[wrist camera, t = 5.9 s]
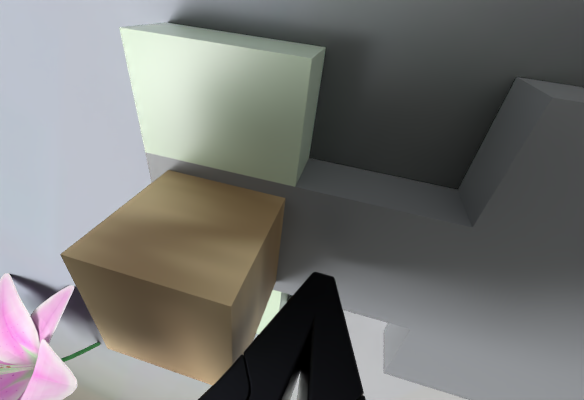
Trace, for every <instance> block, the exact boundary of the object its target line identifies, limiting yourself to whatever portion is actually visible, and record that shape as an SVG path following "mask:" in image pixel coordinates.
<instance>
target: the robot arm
mask: <svg viewBox="0 0 584 400" xmlns="http://www.w3.org/2000/svg"><path fill="white" fill-rule="evenodd" d="M299 374H300V379H299V387H298V395H297V400H366V399H365V396H364V395H363V393H364V392H363V388H362V384H361V380H360V376H359V372H358V368H357V364H356V360H355V356H354V352H353V348H352V344H351V340H350V336H349V332H348V329H347V325H346V321H345V317H344V313H343V309H342V305H341V301H340V297H339V293H338V289H337V285H336V281H335V278H334V277H333V276H330V275H326V274H323V273H319V272H313V273H312V274H311V275H310V276H309V277H308V278H307V280H306V281H305V282H304V283H303V284H302V285H301V286H300V288H299V289H298V290H297V291H296V292H295V293H294V295H293V296H292V297H291V298H290V299H289V300H288V301H287V303H286V304H285V305H284V306H283V307H282V308H281V309H280V311H279V312H278V313H277V314H276V315H275V316H274V318H273V319H272V320H271V321H270V322H269V323H268V324H267V326H266V327H265V328H264V329H263V330H262V331H261V332H260V334H259V335H258V336H257V337H256V338H255V339H254V341H253V342H252V343H251V344H250V345H249V346H248V347H247V349H246V350H245V351H244V352H243V354H241V355H240V356H239V358H238V359H237V360H236V361H235V362H234V363H233V364H232V366H231V367H230V368H229V369H228V370H227V371H226V372H225V373H224V374H223V375H222V376H221V377H220V379H219V380H218V381H217V382H216V383H215V384H214V385H213V386H212V387H211V388H210V389H208V390H207V391H206V392H205V393H204V394H203V395H202V396H201V397H200V398H199V399H198V400H290V398H291V396H292V393H293V390H294V387H295V385H296V382H297V379H298V376H299Z"/></svg>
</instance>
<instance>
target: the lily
mask: <svg viewBox="0 0 584 400" xmlns="http://www.w3.org/2000/svg"><path fill="white" fill-rule="evenodd" d="M73 290H74V286H71V285H70V286H68V287H66V288H64V289H62V290H60V291H59V292H57V293H56V294H54V295H53V296H51V297H50V298H49V299H47V300H46V301H45V302H43V303H42V304H41V305H40V306H39V307H38V308H36V309H35V310H34V311H33V313H32V314H31V316H30V315H29V313H28V311H27V309H26V308H25V306H24V304H23V302H22V301H21V299H20V297H19V295H18V293H17V290H16V288H15V285H14V283H13V280H12V277H11V276H10V274H4V275H3V276H2V277H1V279H0V400H62V399H64V398H65V397H67V396H69V395H70V394H72V393H73V392H74V390H75V389H76V388H77V380H76V378H75V376H74V375H73V373H72V372H71V370H70V369H69V368H68V367H67V366H66V365H65V363H64V362H65V361H67V360H70V359H72V358H74V357H77V356H79V355H81V354H83V353H85V352H87V351H89V350H91V349H93V348H95V347H97V346H99V345H100V343H99V342H97V343H95V344H93V345H91V346H89V347H87V348H85V349H83V350H81V351H78V352H76V353H74V354H72V355H70V356H67V357H64V358H62V359H60V358H59V357H58V356H57V354H56V353H55V352H54V351H53V350H52V348H51V347H50V346H49V343H50V340H51V338H52V336H53V333H54V331H55V329H56V327H57V325H58V323H59V320H60V318H61V316H62V314H63V312H64V310H65V308H66V305H67V303H68V301H69V299H70V297H71V295H72V292H73Z"/></svg>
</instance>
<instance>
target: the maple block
mask: <svg viewBox="0 0 584 400" xmlns="http://www.w3.org/2000/svg"><path fill="white" fill-rule="evenodd" d="M284 207H285V198H283V197H279V196H275V195H270V194H266V193H262V192H258V191H254V190H250V189H246V188H241V187H237V186H233V185H229V184H225V183H221V182H216V181H212V180H208V179H204V178H200V177H196V176H191V175H187V174H183V173H179V172H175V171H171V170H168V171H166V172H165V173H164V174H162V175H161V176H160V177H159V178H157V179H156V180H155V181H154V182H152V183H151V184H150V185H148V186H147V187H146V188H145V189H143V190H142V191H141V192H139V193H138V194H137V195H136V196H134V197H133V198H132V199H131V200H129V201H128V202H127V203H125V204H124V205H123V206H122V207H120V208H119V209H118V210H116V211H115V212H114V213H113V214H111V215H110V216H109V217H108V218H106V219H105V220H104V221H102V222H101V223H100V224H99V225H97V226H96V227H95V228H93V229H92V230H91V231H90V232H88V233H87V234H86V235H84V236H83V237H82V238H81V239H79V240H78V241H77V242H76V243H74V244H73V245H72V246H70V247H69V248H68V249H67V250H65V251H64V252H63V253H61V254H60V255H61V257H62V259H63V261H64V263H65V265H66V267H67V269H68V271H69V273H70V275H71V277H72V279H73V281H74V283H75V285H76V287H77V288H78V290H79V292H80V294H81V296H82V298H83V300H84V302H85V304H86V306H87V308H88V310H89V312H90V314H91V316H92V318H93V320H94V322H95V324H96V326H97V328H98V330H99V332H100V334H101V336H102V338H103V340H104V342H105V344H106V346H107V348H108V349H111V350H114V351H116V352H119V353H122V354H125V355H128V356H131V357H134V358H136V359H139V360H142V361H145V362H148V363H151V364H154V365H156V366H159V367H162V368H165V369H168V370H171V371H173V372H176V373H179V374H182V375H185V376H188V377H191V378H193V379H196V380H199V381H202V382H205V383H208V384H210V385H214V384H215V383H216V382H217V381H218V380H219V379H220V377H221V376H222V375H223V374H224V373H225V372H226V371H227V370H228V369H229V368H230V367H231V366H232V364H233V363H234V362H235V361H236V360H237V359H238V358H239V356H240V355H241V354H243V352H244V351H245V350H246V349H247V347H248V346H249V345H250V344H251V343H252V342H253V340H254V337H255V334H256V332H257V329H258V327H259V324H260V322H261V319H262V316H263V314H264V311H265V309H266V306H267V303H268V301H269V298H270V296H271V293H272V290H273V288H274V285H275V283H276V276H277V267H278V259H279V250H280V241H281V233H282V224H283V216H284Z"/></svg>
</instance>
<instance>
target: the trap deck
mask: <svg viewBox="0 0 584 400" xmlns="http://www.w3.org/2000/svg"><path fill="white" fill-rule="evenodd" d="M119 28H120V33H121V37H122V42H123V47H124V52H125V57H126V61H127V66H128V71H129V76H130V81H131V85H132V90H133V95H134V100H135V105H136V110H137V114H138V119H139V124H140V129H141V134H142V138H143V143H144V148H145V153H146V158H147V163H148V167H149V172H150V177H151V182H154V181H155V180H156V179H157V178H159V177H160V176H161V175H162V174H164V173H165V172H166V171H168V170H171V171H175V172H179V173H183V174H187V175H191V176H196V177H200V178H204V179H208V180H212V181H216V182H221V183H225V184H229V185H233V186H237V187H241V188H246V189H250V190H254V191H258V192H262V193H266V194H270V195H275V196H279V197H283V198H285V207H284V216H283V224H282V233H281V241H280V250H279V259H278V267H277V276H276V283H275V285H274V288H273V290H272V293H271V296H270V298H269V301H268V303H267V306H266V309H265V311H264V314H263V316H262V319H261V322H260V324H259V327H258V329H257V332H256V333H257V334H260V332H261V331H262V330H263V329H264V328H265V327H266V326H267V324H268V323H269V322H270V321H271V320H272V319H273V318H274V316H275V315H276V314H277V313H278V312H279V311H280V309H281V308H282V307H283V306H284V305H285V304H286V303H287V298H288V294H290V295H294V293H295V292H296V291H297V290H298V289H299V288H300V286H301V285H302V284H303V283H304V282H305V281H306V280H307V278H308V277H309V276H310V275H311V274H312V273H313V272H319V273H323V274H326V275H330V276H333V277H334V278H335V281H336V285H337V289H338V293H339V297H340V301H341V305H342V309H343V310H345V311H349V312H352V313H356V314H359V315H363V316H366V317H370V318H373V319H377V320H380V321H384V322H387V323H388V325H387V327H386V328H385V330H384V373H385V374H388V375H391V376H395V377H398V378H401V379H404V380H407V381H411V382H414V383H417V384H420V385H423V386H427V387H430V388H433V389H436V390H439V391H443V392H446V393H449V394H452V395H455V396H459V397H462V398H465V399H468V400H584V87H578V86H572V85H566V84H559V83H553V82H546V81H540V80H533V79H527V78H520V77H516V79H515V81H514V83H513V85H512V87H511V89H510V91H509V92H508V94H507V96H506V98H505V100H504V102H503V104H502V106H501V108H500V110H499V112H498V114H497V115H496V117H495V119H494V121H493V123H492V125H491V127H490V129H489V131H488V133H487V135H486V137H485V138H484V140H483V142H482V144H481V146H480V148H479V150H478V152H477V154H476V156H475V158H474V160H473V162H472V163H471V165H470V167H469V169H468V171H467V173H466V175H465V177H464V179H463V181H462V183H461V185H460V186H459V188H458V190H457V189H452V188H448V187H443V186H438V185H434V184H429V183H424V182H419V181H415V180H410V179H405V178H401V177H396V176H391V175H387V174H382V173H377V172H373V171H368V170H363V169H359V168H354V167H349V166H345V165H340V164H335V163H331V162H326V161H321V160H316V159H312V158H309V155H310V148H311V142H312V135H313V129H314V122H315V116H316V109H317V103H318V96H319V90H320V83H321V77H322V70H323V64H324V57H325V50H326V47H321V46H314V45H308V44H301V43H295V42H289V41H282V40H276V39H269V38H263V37H256V36H250V35H243V34H237V33H231V32H224V31H218V30H211V29H205V28H198V27H192V26H185V25H179V24H173V23H157V24H147V25H137V26H127V27H119Z"/></svg>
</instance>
